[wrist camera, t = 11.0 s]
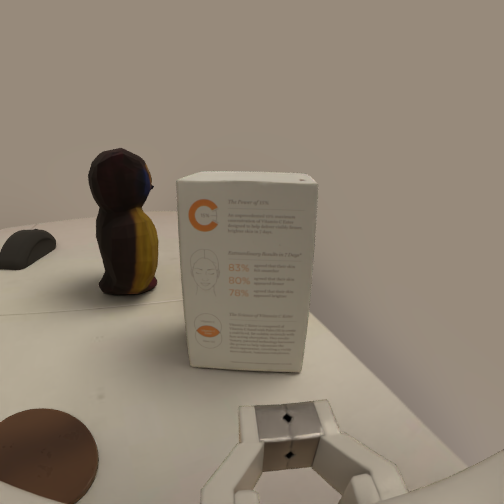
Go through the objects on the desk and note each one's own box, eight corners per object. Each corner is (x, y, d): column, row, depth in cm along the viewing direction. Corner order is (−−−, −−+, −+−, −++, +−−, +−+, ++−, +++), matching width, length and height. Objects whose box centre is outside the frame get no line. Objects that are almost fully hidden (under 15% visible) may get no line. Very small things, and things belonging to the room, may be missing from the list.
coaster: (125, 449, 14) (124, 446, 14) (40, 541, 7) (37, 539, 7) (40, 395, 17) (38, 392, 17) (-37, 455, 10) (-39, 452, 9)
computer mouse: (59, 245, 47) (56, 222, 46) (21, 270, 37) (16, 243, 35) (33, 245, 47) (30, 223, 46) (-6, 268, 37) (-11, 242, 35)
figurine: (174, 301, 31) (167, 145, 27) (107, 315, 28) (89, 150, 23) (148, 269, 39) (141, 146, 34) (94, 278, 36) (82, 151, 31)
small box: (297, 327, 27) (308, 172, 23) (302, 374, 21) (320, 182, 17) (204, 323, 28) (199, 169, 23) (187, 368, 22) (174, 178, 18)
